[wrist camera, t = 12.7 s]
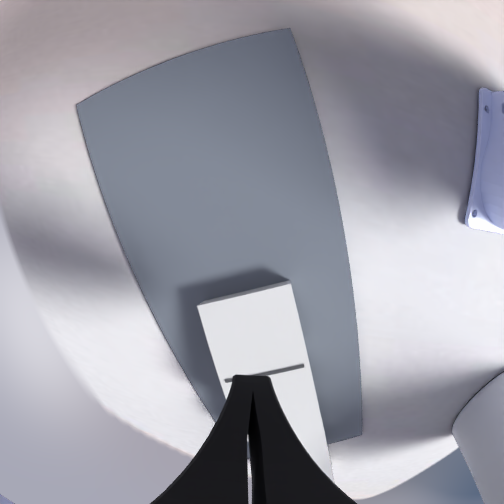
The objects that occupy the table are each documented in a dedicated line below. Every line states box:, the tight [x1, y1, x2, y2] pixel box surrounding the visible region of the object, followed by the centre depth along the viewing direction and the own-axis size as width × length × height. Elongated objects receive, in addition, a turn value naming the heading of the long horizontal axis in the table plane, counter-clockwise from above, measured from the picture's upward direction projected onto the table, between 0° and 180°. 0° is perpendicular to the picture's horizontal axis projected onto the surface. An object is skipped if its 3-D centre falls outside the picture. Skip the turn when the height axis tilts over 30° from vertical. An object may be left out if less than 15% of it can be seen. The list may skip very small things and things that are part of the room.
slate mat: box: [76, 28, 362, 459], centre depth 18 cm, size 32×12×1 cm, turn 16°
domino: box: [197, 280, 323, 442], centre depth 16 cm, size 2×5×9 cm
